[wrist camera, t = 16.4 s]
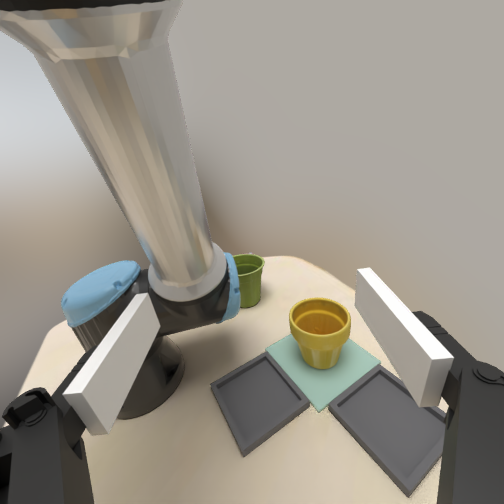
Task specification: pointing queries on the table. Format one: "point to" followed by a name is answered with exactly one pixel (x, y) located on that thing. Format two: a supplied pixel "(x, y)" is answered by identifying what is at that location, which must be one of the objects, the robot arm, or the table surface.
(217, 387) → the tray
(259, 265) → the plant pot
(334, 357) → the plant pot
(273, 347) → the pad
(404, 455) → the tray
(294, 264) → the table surface
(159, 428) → the table surface
